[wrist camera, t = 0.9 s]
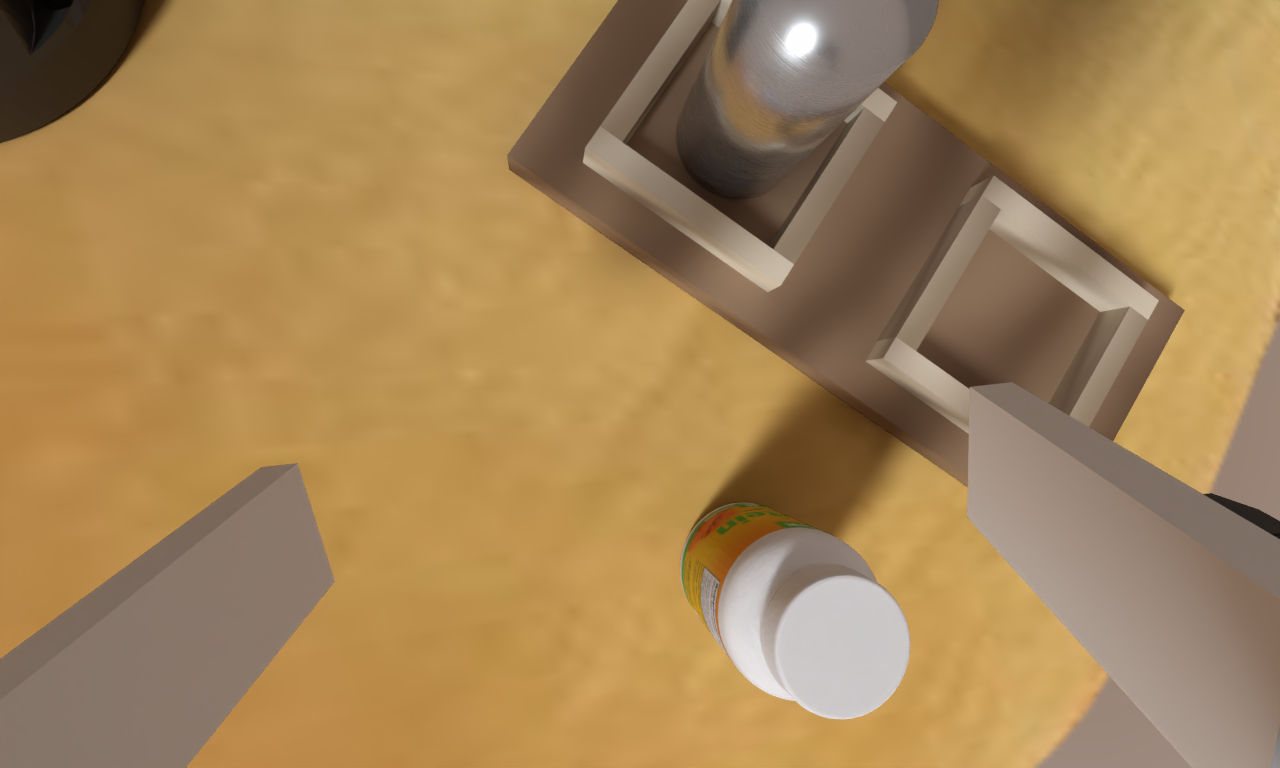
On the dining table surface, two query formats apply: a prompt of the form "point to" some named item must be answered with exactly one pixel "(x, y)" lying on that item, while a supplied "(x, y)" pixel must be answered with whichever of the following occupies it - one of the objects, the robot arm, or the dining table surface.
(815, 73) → the pin
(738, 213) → the walnut pin board
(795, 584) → the supplement bottle
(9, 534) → the dining table surface
